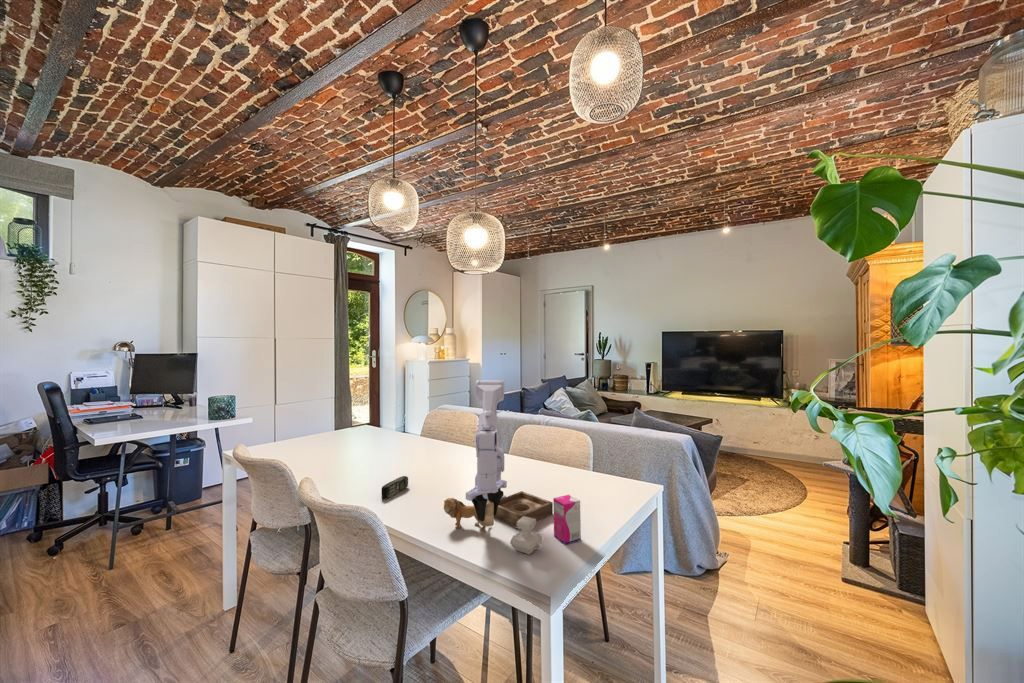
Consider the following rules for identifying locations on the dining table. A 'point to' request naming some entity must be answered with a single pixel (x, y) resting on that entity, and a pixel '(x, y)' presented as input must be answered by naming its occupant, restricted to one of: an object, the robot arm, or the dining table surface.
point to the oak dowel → (488, 514)
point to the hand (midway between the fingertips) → (486, 517)
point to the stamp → (526, 536)
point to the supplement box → (567, 519)
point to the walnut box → (523, 508)
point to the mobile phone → (394, 487)
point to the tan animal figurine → (460, 511)
